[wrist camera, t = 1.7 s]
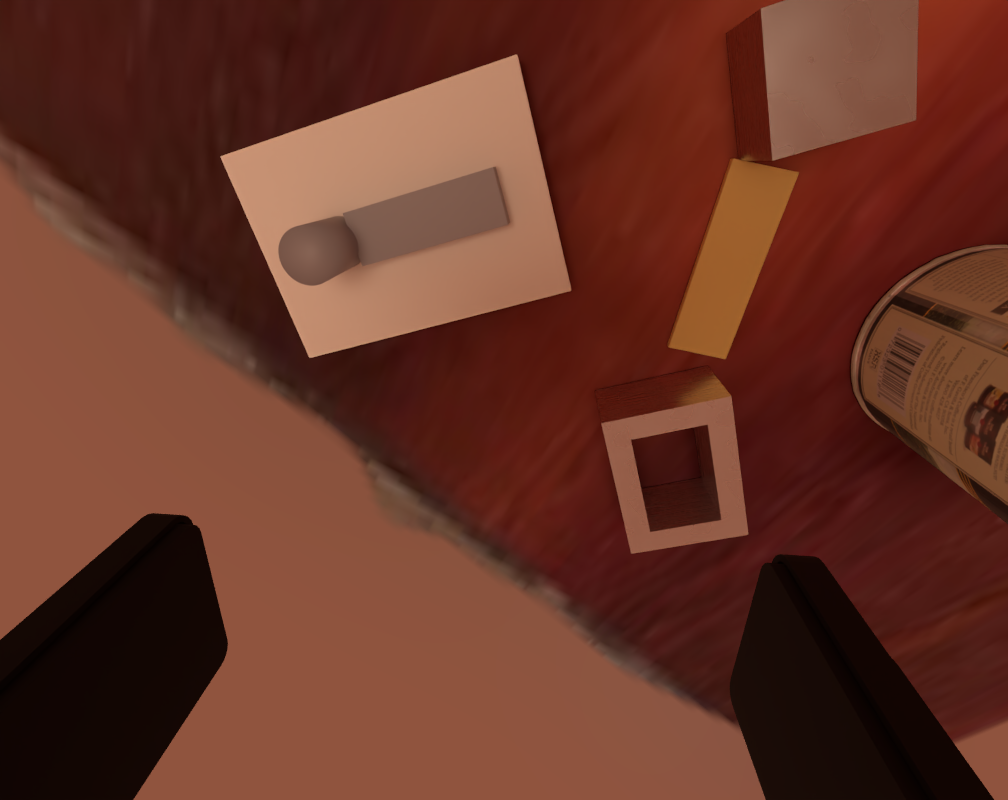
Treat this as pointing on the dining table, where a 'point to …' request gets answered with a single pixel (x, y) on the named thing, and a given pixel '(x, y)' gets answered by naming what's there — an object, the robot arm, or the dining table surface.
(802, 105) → the block
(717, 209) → the yellow flat bar
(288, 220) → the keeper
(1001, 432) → the coffee can
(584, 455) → the dining table surface
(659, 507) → the link
